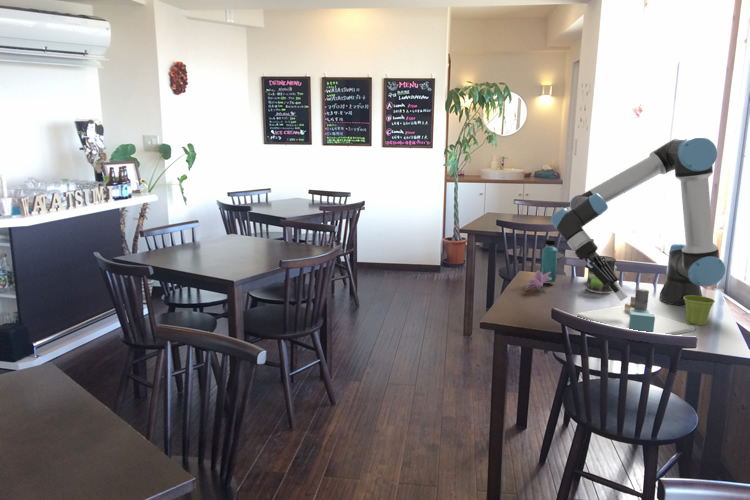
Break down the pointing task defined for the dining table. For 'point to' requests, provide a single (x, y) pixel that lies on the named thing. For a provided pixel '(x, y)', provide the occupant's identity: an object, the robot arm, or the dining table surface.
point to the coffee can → (595, 283)
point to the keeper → (641, 320)
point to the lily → (538, 280)
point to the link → (638, 300)
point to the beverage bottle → (549, 260)
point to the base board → (622, 317)
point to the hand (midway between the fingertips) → (624, 298)
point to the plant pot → (697, 309)
